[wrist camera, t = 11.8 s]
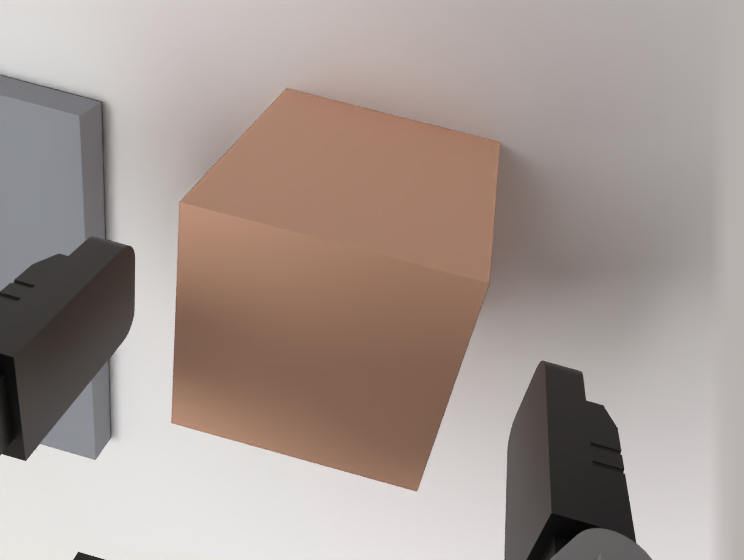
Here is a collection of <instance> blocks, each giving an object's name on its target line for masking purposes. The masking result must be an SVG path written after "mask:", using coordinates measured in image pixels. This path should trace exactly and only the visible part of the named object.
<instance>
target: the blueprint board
mask: <svg viewBox="0 0 744 560" xmlns="http://www.w3.org/2000/svg"><path fill="white" fill-rule="evenodd" d="M92 236H95V237H99V238H102V239H105V218H104V182H103V147H102V111H101V102H100V101H96V100H92V99H88V98H85V97H81V96H77V95H73V94H69V93H66V92H62V91H58V90H54V89H50V88H47V87H43V86H39V85H35V84H31V83H28V82H24V81H20V80H16V79H12V78H9V77H5V76H1V75H0V291H1V290H2V289H4V288H5V287H6V286H7V285H8V284H10V283H13V282H14V279H16V278H17V277H18V276H19V275H20V274H21V273H23V272H24V271H25V270H26V269H27V268H29V267H30V266H31V265H32V264H34V263H37V262H39V261H41V260H44V259H46V258H49V257H51V256H54V255H56V254H63V255H66V256H69V255H70V254H71V253H72V252H73V251H74V250H76V249H77V248H78V247H79V246H80V245H81V244H82V243H83V242H85V241H86V240H87V239H88V238H90V237H92ZM110 438H111V432H110V396H109V361H107V362H106V363H105V364H104V366H103V367H102V368H101V369H100V370H99V372H98V373H97V374H96V375H95V377H94V378H93V379H92V380H91V381H90V383H89V384H88V385H87V386H86V388H85V389H84V390H83V391H82V393H81V394H80V395H79V396H78V397H77V399H76V400H75V401H74V402H73V404H72V405H71V406H70V407H69V408H68V410H67V411H66V412H65V413H64V415H63V416H62V417H61V418H60V420H59V421H58V422H57V423H56V424H55V426H54V427H53V428H52V429H51V431H50V432H49V433H48V434H47V435H46V437H45V438H44V439H43V440H42V442H41V443H40V444H42V445H46V446H49V447H53V448H56V449H60V450H63V451H67V452H70V453H74V454H77V455H80V456H84V457H87V458H91V459H94V460H96V458H97V457H98V456H99V454H100V453H101V451H102V450H103V448H104V447H105V445H106V444H107V442H108V441H109V440H110Z"/></svg>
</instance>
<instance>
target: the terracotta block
mask: <svg viewBox="0 0 744 560" xmlns="http://www.w3.org/2000/svg"><path fill="white" fill-rule="evenodd" d="M499 152H500V142H497V141H493V140H489V139H485V138H481V137H477V136H473V135H469V134H465V133H461V132H457V131H453V130H449V129H445V128H441V127H437V126H434V125H430V124H426V123H422V122H418V121H414V120H410V119H406V118H402V117H398V116H394V115H390V114H386V113H382V112H378V111H374V110H370V109H366V108H362V107H358V106H354V105H351V104H347V103H343V102H339V101H335V100H331V99H327V98H323V97H319V96H315V95H311V94H307V93H303V92H299V91H295V90H291V89H286V90H285V91H284V92H283V93H282V94H281V95H280V96H279V97H278V98H277V99H276V100H275V101H274V102H273V103H272V104H271V106H270V107H269V108H268V109H267V110H266V111H265V112H264V113H263V114H262V115H261V116H260V117H259V118H258V119H257V120H256V121H255V123H254V124H253V125H252V126H251V127H250V128H249V129H248V130H247V131H246V132H245V133H244V134H243V135H242V136H241V137H240V138H239V139H238V141H237V142H236V143H235V144H234V145H233V146H232V147H231V148H230V149H229V150H228V151H227V152H226V153H225V154H224V155H223V156H222V158H221V159H220V160H219V161H218V162H217V163H216V164H215V165H214V166H213V167H212V168H211V169H210V170H209V171H208V172H207V173H206V174H205V176H204V177H203V178H202V179H201V180H200V181H199V182H198V183H197V184H196V185H195V186H194V187H193V188H192V189H191V190H190V191H189V193H188V194H187V195H186V196H185V197H184V198H183V199H182V200H181V201H180V205H179V232H178V259H177V286H176V313H175V340H174V367H173V393H172V420H171V423H173V424H177V425H180V426H184V427H187V428H191V429H195V430H198V431H202V432H205V433H209V434H213V435H216V436H220V437H223V438H227V439H230V440H234V441H238V442H241V443H245V444H248V445H252V446H256V447H259V448H263V449H266V450H270V451H273V452H277V453H281V454H284V455H288V456H291V457H295V458H299V459H302V460H306V461H309V462H313V463H317V464H320V465H324V466H327V467H331V468H334V469H338V470H342V471H345V472H349V473H352V474H356V475H360V476H363V477H367V478H370V479H374V480H377V481H381V482H385V483H388V484H392V485H395V486H399V487H403V488H406V489H410V490H413V491H417V490H418V487H419V484H420V482H421V479H422V476H423V473H424V470H425V467H426V464H427V461H428V459H429V456H430V453H431V450H432V447H433V444H434V441H435V438H436V436H437V433H438V430H439V427H440V424H441V421H442V418H443V416H444V413H445V410H446V407H447V404H448V401H449V398H450V395H451V393H452V390H453V387H454V384H455V381H456V378H457V375H458V372H459V370H460V367H461V364H462V361H463V358H464V355H465V352H466V350H467V347H468V344H469V341H470V338H471V335H472V332H473V329H474V327H475V324H476V321H477V318H478V315H479V312H480V309H481V306H482V304H483V301H484V298H485V295H486V292H487V289H488V286H489V284H490V271H491V258H492V245H493V231H494V218H495V205H496V192H497V179H498V166H499Z"/></svg>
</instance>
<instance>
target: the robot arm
mask: <svg viewBox="0 0 744 560" xmlns="http://www.w3.org/2000/svg"><path fill="white" fill-rule="evenodd" d="M134 304H135V253H134V250H133V248H132V247H131V246H128V245H124V244H121V243H117V242H113V241H110V240H106V239H102V238H99V237H95V236H92V237H90V238H88V239H87V240H86V241H85V242H83V243H82V244H81V245H80V246H79V247H78V248H77V249H76V250H74V251H73V252H72V253H71V254H70V255H69V256H66V255H63V254H56V255H54V256H51V257H49V258H46V259H44V260H41V261H39V262H37V263H34V264H32V265H31V266H30V267H29V268H27V269H26V270H25V271H24V272H23V273H21V274H20V275H19V276H18V277H17V278H16V279H14V282H13V283H10V284H8V285H7V286H6V287H5V288H4V289H2V290H1V291H0V455H1V454H4V455H7V456H11V457H14V458H17V459H21V460H24V461H26V460H27V459H28V458H29V456H30V455H31V454H32V453H33V451H34V450H35V449H36V448H37V447H38V445H39V444H40V443H41V442H42V440H43V439H44V438H45V437H46V435H47V434H48V433H49V432H50V431H51V429H52V428H53V427H54V426H55V424H56V423H57V422H58V421H59V420H60V418H61V417H62V416H63V415H64V413H65V412H66V411H67V410H68V408H69V407H70V406H71V405H72V404H73V402H74V401H75V400H76V399H77V397H78V396H79V395H80V394H81V393H82V391H83V390H84V389H85V388H86V386H87V385H88V384H89V383H90V381H91V380H92V379H93V378H94V377H95V375H96V374H97V373H98V372H99V370H100V369H101V368H102V367H103V366H104V364H105V363H106V362H107V361H108V359H109V358H110V357H111V356H112V354H113V353H114V352H115V351H116V350H117V348H118V347H119V346H120V345H121V343H122V342H123V341H124V339H125V338H126V336H127V334H128V332H129V330H130V327H131V325H132V321H133V317H134ZM620 453H621V447H620V441H619V434H618V428H617V427H616V425H615V423H614V422H613V420H612V419H611V417H610V416H609V414H608V412H607V411H606V409H605V408H604V406H603V405H600V404H596V403H593V402H589V401H586V398H585V389H584V380H583V374H582V372H581V371H578V370H574V369H571V368H567V367H564V366H560V365H556V364H553V363H549V362H545V361H541V362H540V363H539V365H538V366H537V368H536V371H535V373H534V375H533V377H532V380H531V382H530V384H529V387H528V389H527V391H526V393H525V396H524V398H523V400H522V403H521V405H520V407H519V410H518V412H517V414H516V416H515V419H514V422H513V425H512V428H511V432H510V436H509V442H508V450H507V485H506V523H505V560H652V559H651V558H650V556H649V555H648V554H647V553H646V552H645V551H644V550H643V549H642V548H641V547H640V546H639V545H638V544H636V539H635V533H634V527H633V521H632V514H631V508H630V502H629V496H628V490H627V484H626V477H625V474H623V471H624V465H623V459H622V455H620ZM73 560H104V559H101V558H97V557H94V556H91V555H87V554H84V553H81V552H78V553H77V555H76V556H75V558H74V559H73Z"/></svg>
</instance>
